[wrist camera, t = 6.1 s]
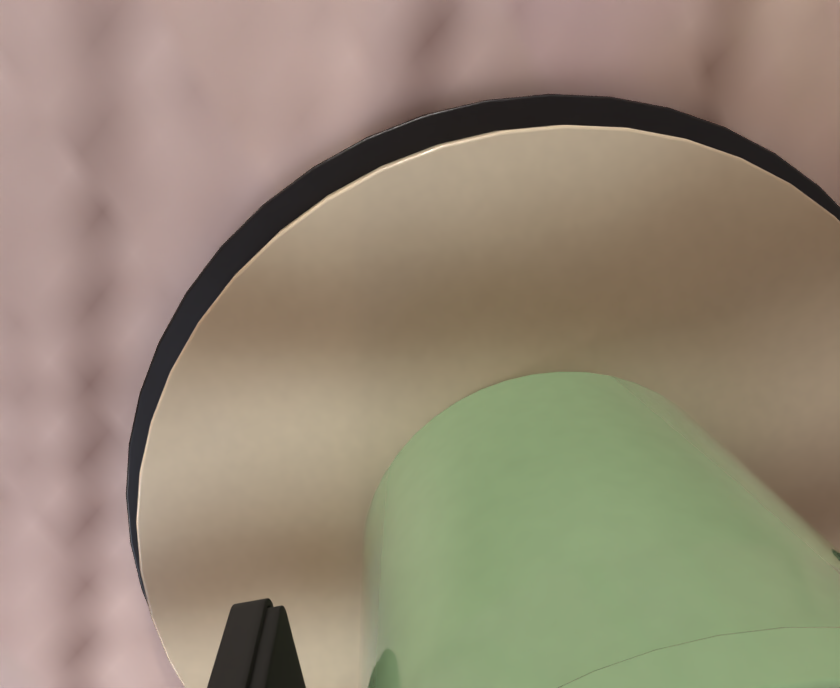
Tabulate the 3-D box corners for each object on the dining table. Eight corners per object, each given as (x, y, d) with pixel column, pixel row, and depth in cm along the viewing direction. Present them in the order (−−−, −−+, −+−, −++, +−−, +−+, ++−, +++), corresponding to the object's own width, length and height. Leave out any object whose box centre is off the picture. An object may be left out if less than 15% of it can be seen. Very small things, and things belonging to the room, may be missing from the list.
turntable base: (278, -59, 11) (273, -69, 11) (1064, 278, 14) (1093, 285, 13) (52, 709, 15) (40, 732, 15) (695, 864, 18) (706, 888, 17)
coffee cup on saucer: (39, 205, 11) (-695, 369, 4) (943, 57, 12) (2128, -96, 4) (248, 874, 16) (124, 1608, 8) (901, 758, 16) (1407, 1362, 8)
